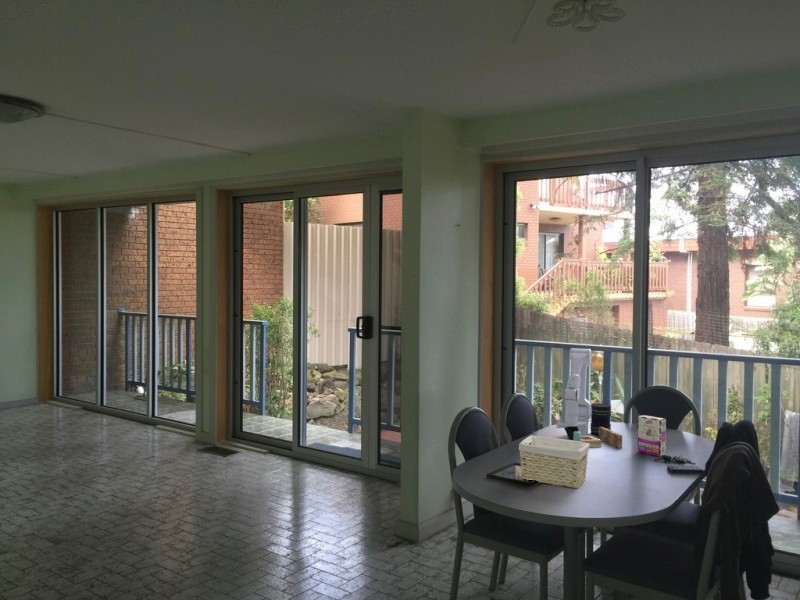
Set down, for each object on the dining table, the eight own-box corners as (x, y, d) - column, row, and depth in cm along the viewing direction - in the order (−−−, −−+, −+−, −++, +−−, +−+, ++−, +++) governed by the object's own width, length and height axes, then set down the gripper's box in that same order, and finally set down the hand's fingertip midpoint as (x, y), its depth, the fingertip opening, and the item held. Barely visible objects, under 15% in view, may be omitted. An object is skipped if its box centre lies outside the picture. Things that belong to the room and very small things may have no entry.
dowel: (572, 448, 290) (572, 431, 290) (578, 448, 290) (578, 431, 290) (575, 450, 287) (575, 433, 287) (581, 450, 287) (582, 432, 287)
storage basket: (590, 479, 244) (590, 441, 243) (580, 491, 229) (581, 450, 229) (529, 470, 255) (530, 434, 255) (517, 481, 241) (517, 442, 241)
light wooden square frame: (571, 442, 302) (571, 436, 302) (590, 441, 304) (590, 435, 304) (581, 447, 292) (581, 441, 292) (601, 446, 294) (601, 440, 294)
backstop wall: (598, 439, 309) (598, 426, 309) (602, 439, 310) (602, 426, 309) (618, 448, 291) (618, 435, 291) (622, 448, 292) (622, 435, 292)
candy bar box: (666, 455, 280) (666, 418, 279) (660, 457, 277) (660, 419, 276) (643, 450, 289) (643, 414, 288) (637, 451, 286) (637, 415, 285)
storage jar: (613, 433, 321) (613, 404, 320) (608, 437, 312) (608, 407, 312) (593, 431, 326) (593, 402, 326) (587, 435, 318) (588, 405, 317)
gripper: (560, 416, 291) (560, 445, 291) (590, 415, 294) (589, 444, 294) (554, 413, 298) (553, 441, 298) (582, 412, 301) (582, 440, 301)
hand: (571, 442), depth 297 cm, fingers closed
